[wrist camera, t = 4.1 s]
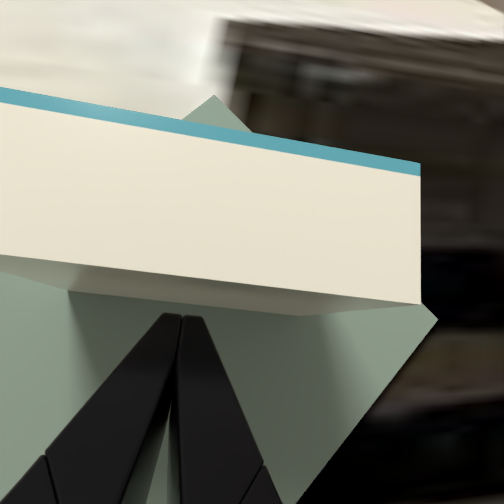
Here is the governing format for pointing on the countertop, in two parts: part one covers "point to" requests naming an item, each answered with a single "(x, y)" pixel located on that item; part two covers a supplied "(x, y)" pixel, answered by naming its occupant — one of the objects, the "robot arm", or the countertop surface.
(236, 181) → the white box
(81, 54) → the countertop surface
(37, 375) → the mat
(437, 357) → the countertop surface
